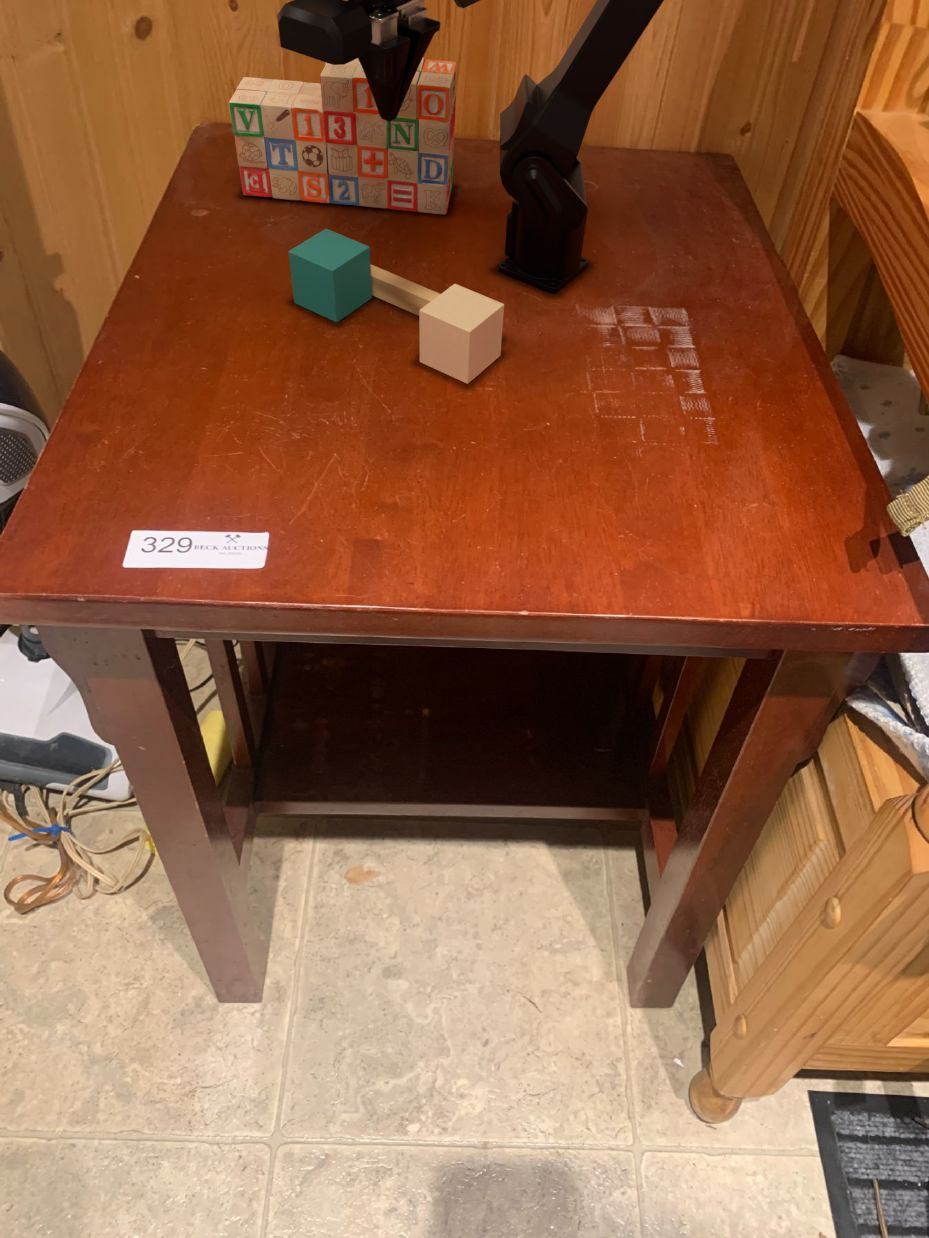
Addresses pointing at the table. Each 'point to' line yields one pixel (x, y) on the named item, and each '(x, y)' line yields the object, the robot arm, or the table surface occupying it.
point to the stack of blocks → (348, 139)
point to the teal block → (331, 274)
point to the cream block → (460, 333)
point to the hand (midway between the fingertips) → (388, 119)
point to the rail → (400, 291)
